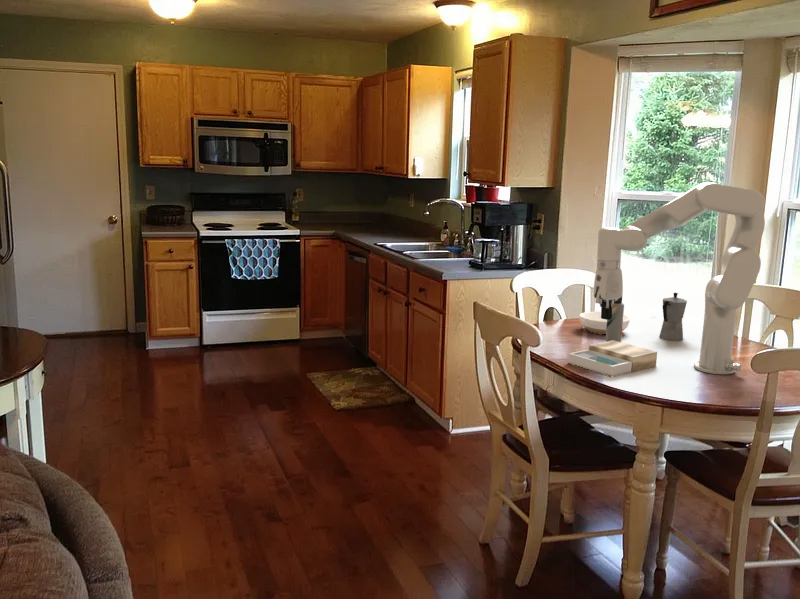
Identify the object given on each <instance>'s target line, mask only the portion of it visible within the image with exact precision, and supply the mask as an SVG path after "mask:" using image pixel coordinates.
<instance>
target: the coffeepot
mask: <svg viewBox="0 0 800 599" xmlns="http://www.w3.org/2000/svg"><path fill="white" fill-rule="evenodd" d="M678 294H679V293H677V292H673V297H664V298H662V315H663V316H662V317H663V321H662V325H661V328H660V329H661V330H660V332H659V338H660V339H662V338H663V340H666V339H667V340H666V341H675V340H677V341H683V339H684V331H683V330H684V329H683V318H684V316H685V315H684V314H685V311H686V307H687V304H688V300H686V299H685V298H679V297H678Z"/></svg>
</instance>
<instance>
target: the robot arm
mask: <svg viewBox="0 0 800 599" xmlns="http://www.w3.org/2000/svg"><path fill="white" fill-rule="evenodd" d="M765 206H766V199H765V197H764V195H763V194H762V193H761V192H760V191H758V190H756V189H749V188H743V187H736V186H731V185H725V184H721V183H716V182H709V181H708V182H707V181H706V182H702V183H700V184H698V185H696V186H694V187H693V188H691V189H689V190H688V191H686V192H685V193H682V194H681V195H679V196H677V197H676V198H675V199H673V200H671V201H669V202H668V203H666V204H664V205H662V206H660V207H658V208H657V209H655V210H653V211H651V212H650V213H647V214H646V215H644V216H642V217H640V218H638V219H636V220H635V221H633V222H631V223H630V224H628V225H627V226H625V227H624V228H623V229H620V228H617V227H602V228H600V229H599V230H598V233H597V234H598V235H597V253H596V254H597V256H596V257H597V258H596V271H595V275H594V282H593V297H594V299H595V303H596V304H599V306H600V308H601V309H600V310H601V311H600V312H601V319H606V320H609V319H612V307H613V306H614V302H615V301H617V300H618V299H619V298H620V297H622V298H623V294H624V293H623V289H624V288H623V287H624V285H623V282H624V281H623V280H624V279H623V272H622V268H621V262H622V261H621V260H622V251H630V252H638V251H639V252H640V251H641V250H642V249H644V248H645V247H646V245H647V244H648V240H649V239H650V238H653V237H654V236H656V235H658V234H660V233H662V232H665V231H670V230H674V229H678V228H680V227H682V226H683V225H685V224H687V223H689V222H690V221H692V220H693V219H695V218H697V217H699V216H700V215H702V214H705V213H706V212H707V211H711V212H716V213H721V214H727V215H731V216H732V215H733V216H734V219H735V224H734V228H733V230H732V231H733V232H732V234H731V236H730V238H729V241H728V243H727V246H726V248H725V250H724V252H723V253H722V256H721V265H722V267H723V269H725V270H724V271H723V274H721V275H716V276H714V277H712V278H711V279H710V280H709V281H708V282H707V284H706V286H705V292H704V317H703V325H702V333H701V335H702V336H701V345H700V354H699V361H695V362H694V364H693V367H694V369H696V370H698V371H700V372H703V373H706V374H713V375H714V374H715V375H732V374H734V373H735V371H736V372H740V371H741V370H742V365H741V364H740V363H735V358H733V357H732V355H733V354H732V353H733V344H734V336H735V327H736V321H737V320H736V318H737V309H739V308H740V307H742V306H743V305H744V303H745V302H746V301H747V299H748V297H749V296H750V293H751V291H752V288H753V287H754V285H755V282H756V280H757V278H758V275H759V274H760V270H761V267H762V266H761V263H762V262H761V261H762V260H761V257H760V255H759V253H758V252H757V249H758V248H759V245H760V242H761V240H762V237H763V234H764V230H765V225H766V220H765V214H764V210H765Z"/></svg>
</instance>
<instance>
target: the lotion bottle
mask: <svg viewBox="0 0 800 599" xmlns="http://www.w3.org/2000/svg"><path fill="white" fill-rule="evenodd" d="M624 310H625V304H624V303H623V296H622V297H620V298H619V299H618V300H617V301H615V302H614V306H613V307H612V319H609V320H607V327H606V335H605V339H604V340H605V341H604V342H607V341H612V340H614V341H618V342H622V335H623V331H622V325H623V315H624Z"/></svg>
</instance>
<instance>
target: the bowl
mask: <svg viewBox="0 0 800 599" xmlns="http://www.w3.org/2000/svg"><path fill="white" fill-rule="evenodd" d="M630 320H631V319H630V317H629V316H627V315H625V314H623V325H622V332H623V331H625V330H626V329H627V328H628V327H629V324H630ZM579 321H580V324H581V325H582V327H584V328H585V329H586V330H587V331H588V332H590V333H592V332H593V334H596V333H598V334H597V335H602V334H606V327H607V320H606V319H601V311H585V312H582V313H579Z"/></svg>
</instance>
